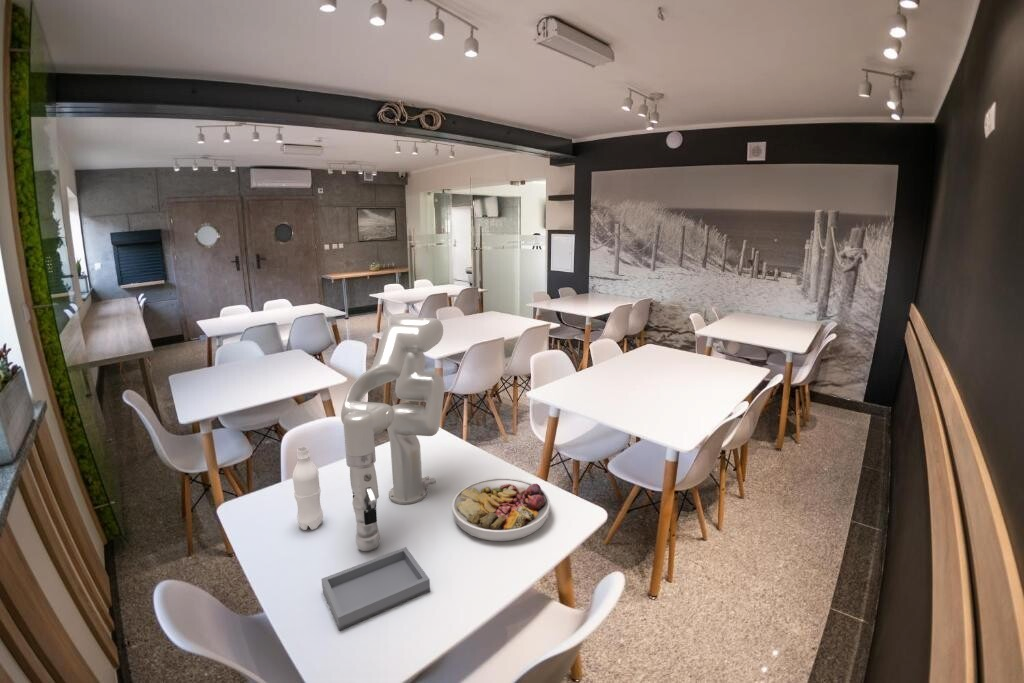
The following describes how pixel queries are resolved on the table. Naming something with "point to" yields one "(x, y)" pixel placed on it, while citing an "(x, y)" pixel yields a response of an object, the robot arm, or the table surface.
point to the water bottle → (307, 491)
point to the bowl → (501, 509)
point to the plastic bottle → (365, 528)
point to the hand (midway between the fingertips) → (365, 514)
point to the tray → (374, 587)
